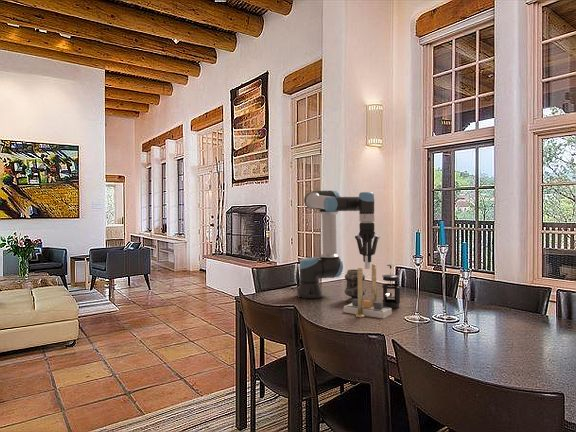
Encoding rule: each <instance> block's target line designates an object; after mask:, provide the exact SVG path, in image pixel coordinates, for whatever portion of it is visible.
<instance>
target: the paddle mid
mask: <svg viewBox="0 0 576 432" xmlns="http://www.w3.org/2000/svg"><path fill="white" fill-rule="evenodd" d="M363 300H364V301H363V307H368V308H371V307H372V300H368V299H367V300H366V299H363Z"/></svg>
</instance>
